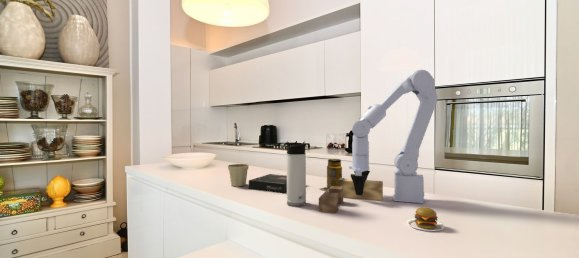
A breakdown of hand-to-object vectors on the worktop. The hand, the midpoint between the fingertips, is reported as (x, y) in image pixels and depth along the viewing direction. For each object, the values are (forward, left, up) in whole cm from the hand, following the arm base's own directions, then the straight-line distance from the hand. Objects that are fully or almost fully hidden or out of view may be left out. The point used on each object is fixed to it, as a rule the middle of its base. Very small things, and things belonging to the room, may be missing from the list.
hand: (360, 192), depth 106 cm
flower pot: (+52, -5, -2) cm, 52 cm away
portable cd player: (+35, -7, -2) cm, 36 cm away
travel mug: (+19, +15, -2) cm, 24 cm away
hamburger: (-19, +24, -3) cm, 31 cm away
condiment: (+12, -10, -2) cm, 16 cm away
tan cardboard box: (+7, +14, -2) cm, 16 cm away
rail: (0, 0, -2) cm, 2 cm away
